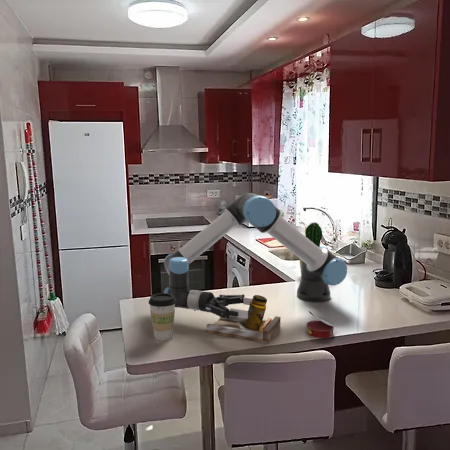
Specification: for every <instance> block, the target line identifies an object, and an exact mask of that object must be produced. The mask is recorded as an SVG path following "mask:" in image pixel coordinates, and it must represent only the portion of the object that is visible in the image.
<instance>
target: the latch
mask: <svg viewBox="0 0 450 450" xmlns="http://www.w3.org/2000/svg"><path fill="white" fill-rule="evenodd" d="M265 320H266V321H265V323H264V324H263V325H262V326H261V327H260V332H262V333H263V330H264V329H265V328H266V327H267V326H268V324H269V323H270V322H271V321H272V320H273V318H271V317H270V318H269V317H268V318H267V319H265Z"/></svg>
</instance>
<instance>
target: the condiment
mask: <svg viewBox="0 0 450 450" xmlns="http://www.w3.org/2000/svg"><path fill="white" fill-rule="evenodd" d="M252 298H253V299H252V302H251V303H250V305H248V310H247V311H248V319H246V320H245V322H241V321H238V324H239V326H240V328H241V329H246V330H250V331H256V332H260V327H261V324H262V321H263V319H264V317H265V313H266V308H267V302H268V299H267V297H265V296H263V295H259V294H254V295H253V296H252Z"/></svg>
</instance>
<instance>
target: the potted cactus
mask: <svg viewBox="0 0 450 450" xmlns="http://www.w3.org/2000/svg"><path fill="white" fill-rule="evenodd" d="M304 230H305V231H304V232H305V233H304V236H306V237H307V238H308V239H309V240H310V241H312V242H313V243H314V244H315V245H316V246H318V247H321V241H322V240H323V233H324V231H323V229H322V227H321V225H319V223H318V222H316V221H313V222H310V223H309V222H308V225H307V224H306V228H305V229H304ZM298 258H299V257H298ZM299 266H300V267H299V268H300V271H301V270H302V260H301V259H300V258H299Z"/></svg>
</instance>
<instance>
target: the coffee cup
mask: <svg viewBox="0 0 450 450" xmlns="http://www.w3.org/2000/svg"><path fill="white" fill-rule="evenodd" d="M175 303H176V299H175V297H174V295H172V294H169V293H164V292H161V293H160V292H159V293H156V294H152V295H151V296H150V298H149V299H148V305H149V307H150V309H149V310H150V311H149V312H150V320H151V324H152V329H153V336H154V339H155V340H156V341H168V340H170V339H172V337H173V329H174V323H175V322H174V321H175V313H176V307H175Z"/></svg>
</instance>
